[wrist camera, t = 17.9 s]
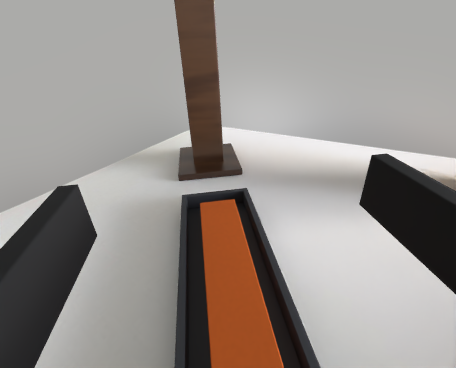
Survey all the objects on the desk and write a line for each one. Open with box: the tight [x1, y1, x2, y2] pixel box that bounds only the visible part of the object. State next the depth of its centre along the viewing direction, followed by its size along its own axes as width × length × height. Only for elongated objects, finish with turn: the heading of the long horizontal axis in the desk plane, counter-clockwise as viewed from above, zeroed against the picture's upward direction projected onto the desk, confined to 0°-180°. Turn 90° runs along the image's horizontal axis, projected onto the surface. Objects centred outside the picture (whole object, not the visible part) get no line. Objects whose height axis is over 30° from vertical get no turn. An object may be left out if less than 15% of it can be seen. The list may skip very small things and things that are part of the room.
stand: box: [174, 0, 242, 181], centre depth 38 cm, size 14×10×30 cm
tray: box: [175, 188, 320, 368], centre depth 20 cm, size 28×8×2 cm, turn 8°
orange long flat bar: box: [200, 199, 284, 368], centre depth 19 cm, size 24×4×2 cm, turn 8°
